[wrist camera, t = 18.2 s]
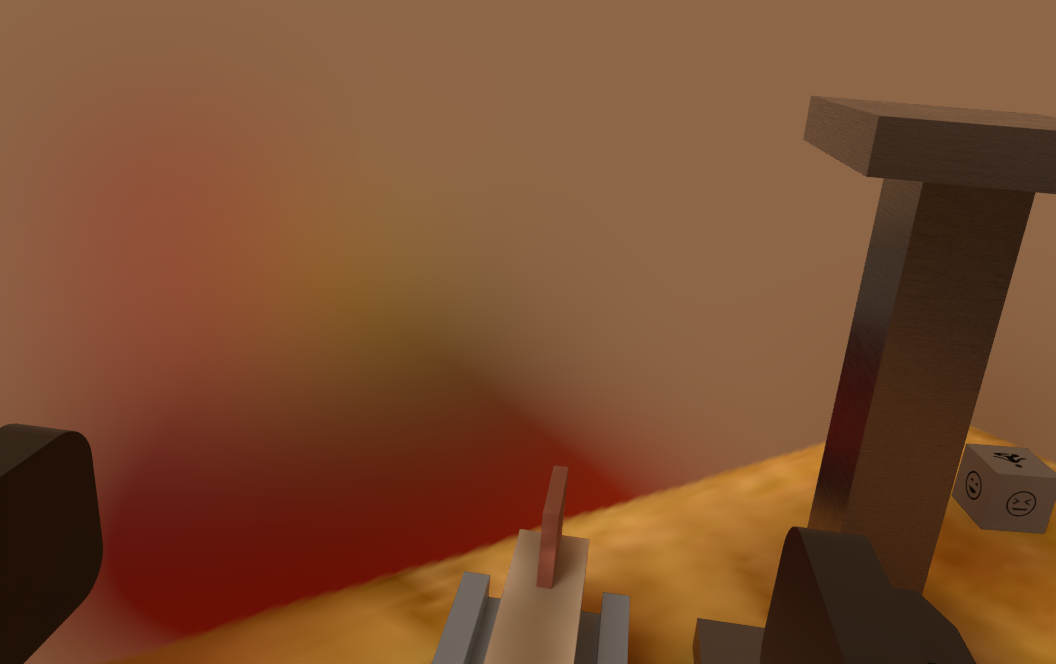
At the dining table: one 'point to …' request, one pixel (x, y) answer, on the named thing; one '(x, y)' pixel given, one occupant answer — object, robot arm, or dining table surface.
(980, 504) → the dice cube
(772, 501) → the dining table surface
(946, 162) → the pedestal
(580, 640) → the cradle
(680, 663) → the dining table surface
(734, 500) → the dining table surface
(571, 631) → the tan wooden block
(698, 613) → the dining table surface
